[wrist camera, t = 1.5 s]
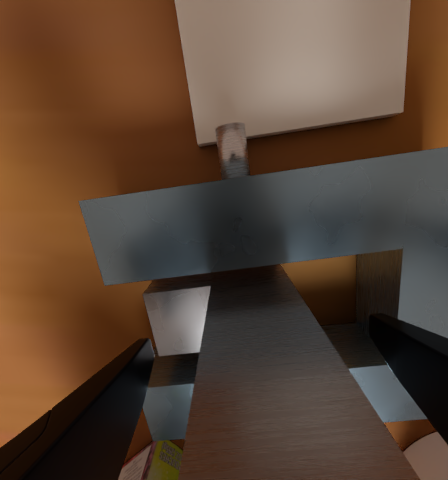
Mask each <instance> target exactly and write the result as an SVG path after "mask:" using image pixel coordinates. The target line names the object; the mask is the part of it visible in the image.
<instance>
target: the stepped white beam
mask: <svg viewBox="0 0 448 480" xmlns="http://www.w3.org/2000/svg"><path fill="white" fill-rule="evenodd" d="M143 298H144V302H145V305H146V309H147V313H148V317H149V321H150V324H151V328H152V332H153V336H154V340H155V343H156V347H157V351H158V355H159V356H167V355H176V354H186V353H196V352H200V353H199V359H198V365H197V370H196V376H195V382H194V388H193V394H192V400H191V406H190V412H189V418H188V424H187V430H186V435H185V441H184V447H183V453H182V459H181V465H180V471H179V477H178V480H420V478H419V477H418V475H417V474H416V472H415V471H414V469H413V467H412V466H411V464H410V463H409V461H408V460H407V458H406V457H405V455H404V454H403V452H402V451H401V449H400V448H399V446H398V444H397V443H396V441H395V440H394V438H393V437H392V435H391V434H390V432H389V431H388V429H387V428H386V426H385V424H384V423H383V421H382V420H381V418H380V417H379V415H378V414H377V412H376V411H375V409H374V408H373V406H372V405H371V403H370V401H369V400H368V398H367V397H366V395H365V394H364V392H363V391H362V389H361V388H360V386H359V385H358V383H357V382H356V380H355V378H354V377H353V375H352V374H351V372H350V371H349V369H348V368H347V366H346V365H345V363H344V362H343V360H342V359H341V357H340V355H339V354H338V352H337V351H336V349H335V348H334V346H333V345H332V343H331V342H330V340H329V339H328V337H327V335H326V334H325V332H324V331H323V329H322V328H321V326H320V325H319V323H318V322H317V320H316V319H315V317H314V316H313V314H312V312H311V311H310V309H309V308H308V306H307V305H306V303H305V302H304V300H303V299H302V297H301V296H300V294H299V293H298V291H297V289H296V288H295V286H294V285H293V283H292V282H291V280H290V279H289V277H288V276H287V274H286V273H285V271H284V270H283V268H282V266H281V265H280V264H275V265H267V266H259V267H251V268H243V269H235V270H227V271H219V272H211V273H202V274H194V275H186V276H178V277H170V278H162V279H154V280H153V281H152V283H151V284H150V285H149V287H148V288H147V289H146V290H145V292H144V293H143Z"/></svg>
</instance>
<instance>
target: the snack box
mask: <svg viewBox="0 0 448 480" xmlns="http://www.w3.org/2000/svg"><path fill="white" fill-rule="evenodd" d="M182 453H183V450H182V449H181V448H179V447H178V446H176V445H175V444H174V443H172V442H171V441H169V440H164V441H152V442H151V443H150V444H149V445H147V446H146V447H145V448H144V449H142V450H141V451H140V452H139V453H137V454H136V455H135V456H134V457H133V458H131V459H130V460H129V461H128V462H127V463H125V464H124V465H123V467H122V470H121V473H120V476H119V479H118V480H178V477H179V471H180V465H181V459H182Z"/></svg>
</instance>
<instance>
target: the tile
mask: <svg viewBox="0 0 448 480" xmlns="http://www.w3.org/2000/svg"><path fill="white" fill-rule="evenodd" d="M410 2H411V0H175V6H176V12H177V19H178V25H179V31H180V37H181V44H182V50H183V56H184V63H185V69H186V75H187V81H188V88H189V94H190V100H191V106H192V113H193V119H194V125H195V132H196V138H197V144H198V146H199V147H200V146H207V145H213V144H217V140H216V133H215V128H217V127H218V126H221V125H224V124H228V123H235V122H240V123H244V124H245V131H246V139H251V138H258V137H264V136H271V135H277V134H283V133H290V132H296V131H303V130H309V129H315V128H322V127H328V126H335V125H341V124H347V123H354V122H360V121H366V120H373V119H379V118H386V117H392V116H395V115H397V114H400V113H402V112H403V109H404V94H405V78H406V63H407V48H408V32H409V17H410Z"/></svg>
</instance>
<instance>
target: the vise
mask: <svg viewBox="0 0 448 480" xmlns="http://www.w3.org/2000/svg"><path fill="white" fill-rule="evenodd" d="M215 133H216V140H217V148H218V155H219V162H220V169H221V177H222V180H219V181H212V182H206V183H199V184H192V185H185V186H178V187H172V188H165V189H158V190H151V191H144V192H138V193H131V194H124V195H117V196H110V197H103V198H97V199H90V200H83V201H79V204H80V207H81V211H82V214H83V217H84V220H85V224H86V227H87V230H88V233H89V236H90V240H91V243H92V246H93V249H94V253H95V256H96V259H97V262H98V266H99V269H100V272H101V275H102V278H103V282H104V285H105V286H106V285H114V284H122V283H130V282H138V281H146V280H154V279H162V278H170V277H178V276H186V275H194V274H202V273H211V272H219V271H227V270H235V269H243V268H251V267H259V266H267V265H275V264H283V263H291V262H299V261H307V260H315V259H324V258H332V257H340V256H348V255H356V254H357V271H356V322H354V323H344V324H335V325H326V326H321V328H322V329H323V331H324V332H325V334H326V335H327V337H328V339H329V340H330V342H331V343H332V345H333V346H334V348H335V349H336V351H337V352H338V354H339V355H340V357H341V359H342V360H343V362H344V363H345V365H346V366H347V368H348V369H349V371H350V372H351V374H352V375H353V377H354V378H355V380H356V382H357V383H358V385H359V386H360V388H361V389H362V391H363V392H364V394H365V395H366V397H367V398H368V400H369V401H370V403H371V405H372V406H373V408H374V409H375V411H376V412H377V414H378V415H379V417H380V418H381V420H382V421H383V423H384V422H396V421H408V420H420V419H427V417H426V416H425V415H424V413H423V412H422V411H421V410H420V408H419V407H418V406H417V404H416V403H415V402H414V400H413V399H412V398H411V396H410V395H409V394H408V393H407V391H406V390H405V389H404V387H403V386H402V385H401V383H400V382H399V381H398V379H397V378H396V377H395V375H394V374H393V372H392V371H391V369H390V368H389V366H388V364H387V363H386V361H385V360H384V358H383V357H382V355H381V353H380V352H379V350H378V349H377V347H376V346H375V344H374V342H373V341H372V339H371V338H370V335H369V316H370V314H372V313H384V314H386V315H389V316H392V317H394V318H397V319H399V320H402V321H405V322H407V323H410V324H412V325H415V326H417V327H420V328H423V329H425V330H428V331H430V332H433V333H436V334H438V335H441V336H443V337H446V338H448V147H444V148H437V149H430V150H423V151H416V152H410V153H403V154H396V155H389V156H382V157H376V158H369V159H362V160H355V161H348V162H342V163H335V164H328V165H321V166H314V167H308V168H301V169H294V170H287V171H280V172H274V173H267V174H260V175H253V176H250V169H249V160H248V150H247V141H246V131H245V124H244V123H240V122H235V123H228V124H224V125H221V126H218V127H217V128H215ZM199 353H200V352H196V353H186V354H176V355H167V356H159V355H158V351H157V347H155V349H154V363H153V368H152V372H151V376H150V380H149V385H148V389H147V393H146V397H145V401H144V404H143V411H144V414H145V417H146V420H147V424H148V427H149V430H150V433H151V436H152V440H153V441H164V440H176V439H185V435H186V430H187V424H188V418H189V412H190V406H191V400H192V394H193V388H194V382H195V376H196V370H197V365H198V359H199Z"/></svg>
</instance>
